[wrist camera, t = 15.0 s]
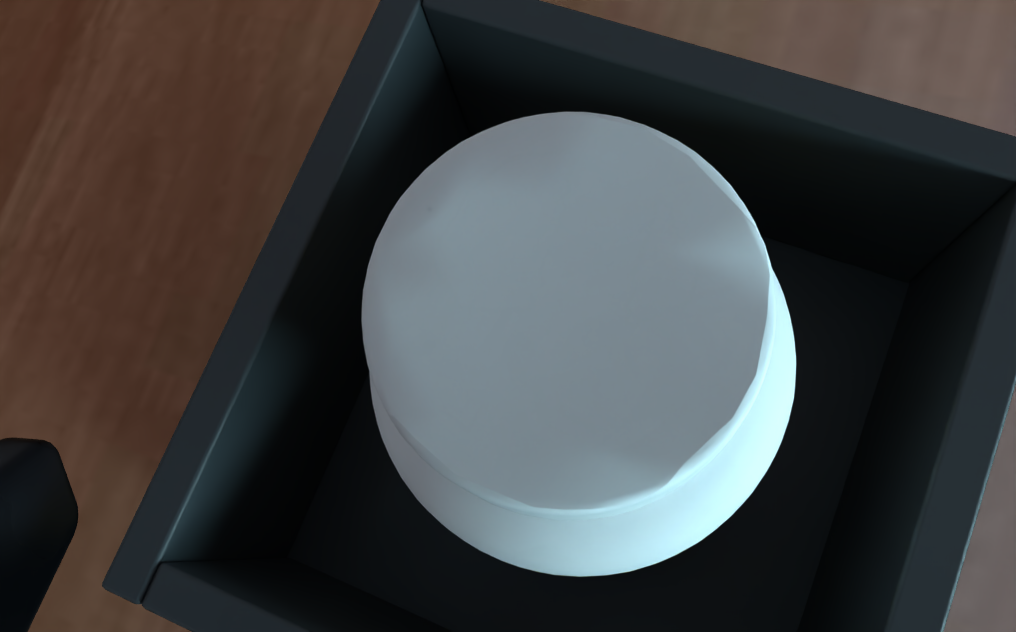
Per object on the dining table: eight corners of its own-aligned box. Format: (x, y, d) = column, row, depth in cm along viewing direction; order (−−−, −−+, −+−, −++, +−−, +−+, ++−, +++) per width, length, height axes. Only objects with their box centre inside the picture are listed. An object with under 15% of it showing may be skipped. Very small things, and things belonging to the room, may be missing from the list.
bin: (258, 574, 21) (97, 587, 15) (460, 120, 24) (398, -42, 17) (771, 812, 19) (850, 953, 12) (941, 275, 21) (1084, 153, 15)
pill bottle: (427, 347, 21) (234, 152, 11) (670, 258, 21) (717, -29, 11) (510, 603, 20) (376, 672, 9) (775, 510, 20) (956, 469, 9)
